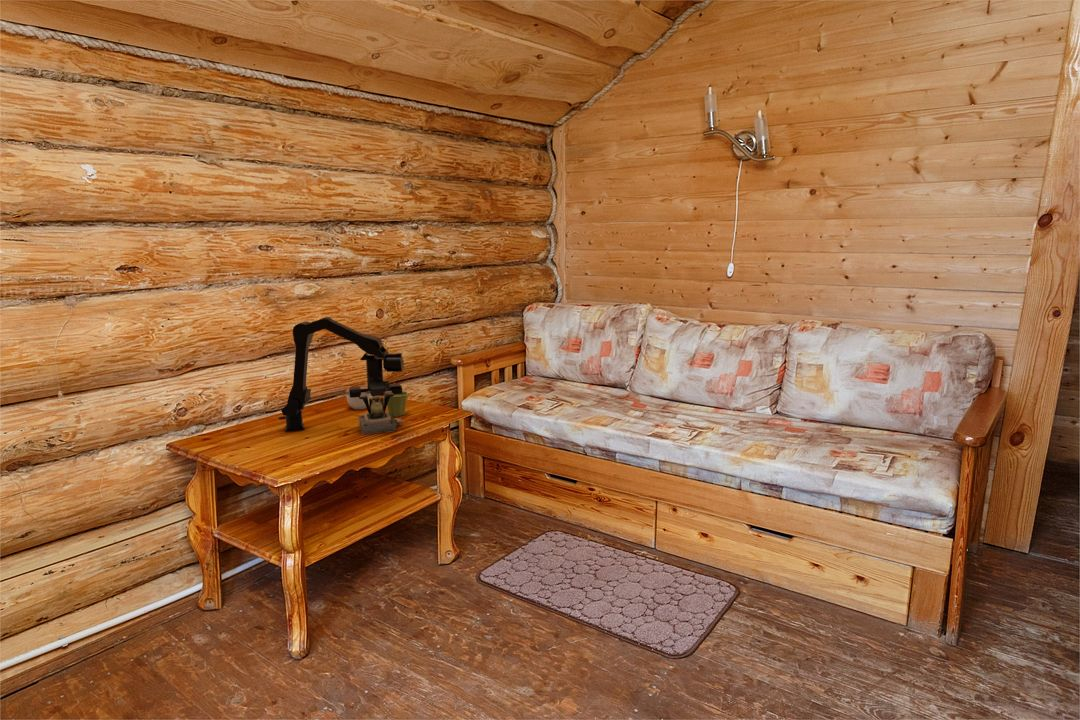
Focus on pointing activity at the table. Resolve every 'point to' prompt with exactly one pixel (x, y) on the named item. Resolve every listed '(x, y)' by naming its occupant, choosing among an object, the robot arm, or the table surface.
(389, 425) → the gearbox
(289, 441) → the table surface
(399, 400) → the plant pot
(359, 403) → the lidded jar
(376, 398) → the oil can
